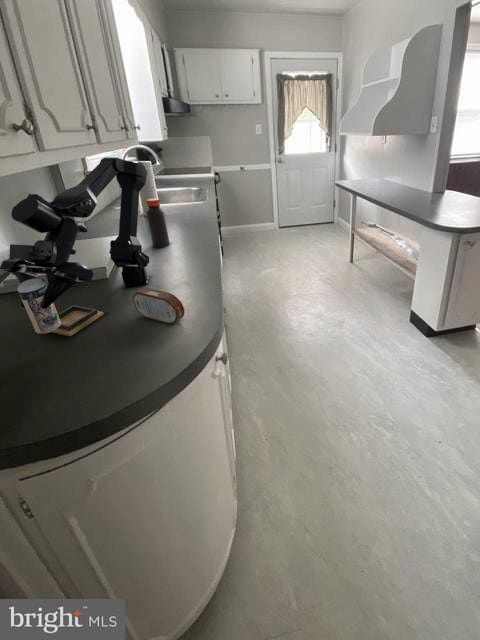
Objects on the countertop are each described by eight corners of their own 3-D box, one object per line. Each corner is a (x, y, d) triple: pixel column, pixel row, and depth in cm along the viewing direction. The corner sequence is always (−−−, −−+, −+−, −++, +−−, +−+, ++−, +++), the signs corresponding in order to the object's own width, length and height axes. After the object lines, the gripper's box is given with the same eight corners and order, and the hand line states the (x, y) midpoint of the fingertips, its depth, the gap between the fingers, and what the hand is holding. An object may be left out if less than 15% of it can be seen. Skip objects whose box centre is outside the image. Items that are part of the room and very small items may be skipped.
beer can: (46, 336, 67) (26, 289, 62) (30, 333, 68) (10, 286, 63) (66, 324, 71) (49, 278, 66) (51, 320, 72) (33, 276, 67)
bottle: (154, 243, 135) (145, 198, 127) (170, 241, 136) (162, 197, 128) (152, 248, 128) (142, 201, 121) (169, 246, 130) (160, 200, 122)
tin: (187, 321, 79) (182, 293, 76) (179, 328, 76) (173, 299, 73) (143, 310, 84) (137, 283, 81) (134, 316, 82) (127, 289, 78)
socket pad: (76, 308, 86) (74, 302, 85) (104, 314, 83) (102, 308, 82) (40, 329, 77) (37, 323, 76) (70, 336, 74) (67, 329, 73)
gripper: (-10, 224, 65) (-45, 295, 59) (67, 227, 62) (37, 302, 57) (36, 245, 75) (10, 307, 70) (104, 248, 72) (82, 313, 67)
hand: (33, 307), depth 65 cm, fingers closed on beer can, 5 cm apart
